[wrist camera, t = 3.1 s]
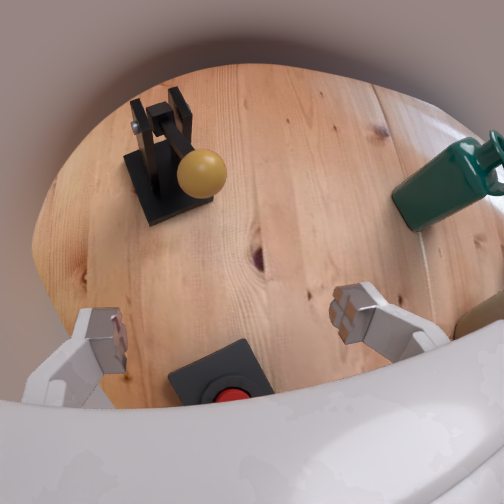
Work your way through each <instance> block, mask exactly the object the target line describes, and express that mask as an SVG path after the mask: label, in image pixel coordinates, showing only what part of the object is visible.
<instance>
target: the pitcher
mask: <svg viewBox="0 0 504 504" xmlns="http://www.w3.org/2000/svg"><path fill="white" fill-rule="evenodd" d="M489 136H490V140H488V141H487V142H486V143H484V144H483V145H481V144H480V143H479V142H478V141H477V140H475V139H474V138H472V137H466V138H464V139H462V140H459V141H457V142H455V143H453V144H451V145H450V146H448V147H447V148H446V149H445V150H443V151H442V152H441V153H440V154H438V155H437V156H436V157H434V158H433V159H432V160H431V161H429V162H428V163H427V164H425V165H424V166H423V167H422V168H420V169H419V170H418V171H416V172H415V173H414V174H413V175H411V176H410V177H409V178H407V179H406V180H405V181H403V182H402V183H401V184H399V185H398V186H397V187H396V188H395V189H394V190H393V199H394V202H395V203H396V205H397V207H398V208H399V210H400V212H401V214H402V215H403V217H404V219H405V221H406V223H407V224H408V226H409V227H410V228H411V229H412V230H413V231H415V232H420V231H422V230H424V229H426V228H428V227H430V226H432V225H434V224H436V223H438V222H440V221H442V220H444V219H445V218H447V217H449V216H451V215H453V214H455V213H457V212H459V211H461V210H462V209H464V208H466V207H468V206H470V205H472V204H473V203H475V202H477V201H479V200H481V199H483V198H484V197H485V196H486V195H487V194H488V195H492V196H502V195H504V184H503V183H500V182H498V177H497V172H496V170H495V168H496V167H498V166H500V165H501V164H502V166H503V168H504V138H503V137H502V135H501V134H499V133H498V132H497V131H495V130H491V131H490V134H489Z"/></svg>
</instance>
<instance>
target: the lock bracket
mask: <svg viewBox="0 0 504 504" xmlns="http://www.w3.org/2000/svg"><path fill="white" fill-rule="evenodd" d="M130 105H131V110H132V116H133V122H131V127H132V130H133V133H134V135H136V136H137V141H138V146H139V150H137V151H134V152H132V153H129V154H127V155H124V156H123V157H124V160H125V163H126V166H127V169H128V172H129V174H130V177H131V180H132V182H133V185H134V188H135V190H136V193H137V196H138V198H139V201H140V203H141V206H142V209H143V211H144V214H145V216H146V219H147V221H148V224H149V226H150V227H151V226H153V225H155V224H158V223H160V222H162V221H165V220H167V219H169V218H172V217H174V216H176V215H179V214H181V213H184V212H186V211H189V210H191V209H193V208H196V207H198V206H201V205H203V204H206V203H208V202H211V201H213V198H214V196H212V197H209V198H203V199H200V198H194V197H192V196H190V195H188V194H186V193H185V192H184V191H183V190H182V188H181V187H180V185H179V182H178V179H177V170H178V166H179V164H180V162H181V159H180V157H179V156H178V155H177V153H176V152H175V150H174V149H173V147H172V146H171V144H170V143H169V141H168V140H164V141H161V142H158V143H155V144H154V141H153V133H152V127H151V125H150V122H149V120H148V118H147V115H146V113H145V111H144V108H143V106H142V103H141V101H140V99H139V98H138V99H135V100H132V101H130ZM168 105H169V106H170V107H171V108H172V109H173V110H174V116H175V122H176V127H177V128H178V129H179V131H180V132H181V133H182V134H183V135H184V137H185V138H186V139H187V140H188V142H189V143H190V144H191V133H192V116H193V115H192V113H191V110H190V107H189V105H188V104H187V103H186V102H185V100H184V98H183V96H182V94H181V92H180V90H179V89H178V87H177V86H176V87H173V88H169V89H168Z"/></svg>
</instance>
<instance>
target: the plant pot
mask: <svg viewBox="0 0 504 504" xmlns="http://www.w3.org/2000/svg"><path fill="white" fill-rule="evenodd" d="M497 320H504V290H503V291H501V292H499V293H497V294H495V295H494V296H492V297H490V298H489V299H487V300H485V301H484V302H482V303H481V304H479V305H478V306H476V307H475V308H473V309H472V310H470V311H469V312H467V313H466V314H465V315H463V316H462V317H461V318H460V319H459V321H458V323H457V326H456V330H455V340H456V339H459V338H461V337H463V336H465V335H468V334H470V333H472V332H474V331H476V330H478V329H481V328H483V327H485V326H487V325H489V324H491V323H493V322H495V321H497Z"/></svg>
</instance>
